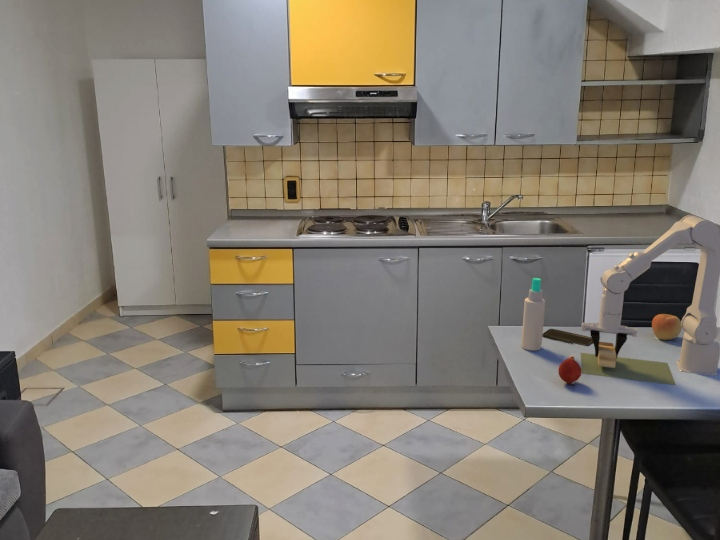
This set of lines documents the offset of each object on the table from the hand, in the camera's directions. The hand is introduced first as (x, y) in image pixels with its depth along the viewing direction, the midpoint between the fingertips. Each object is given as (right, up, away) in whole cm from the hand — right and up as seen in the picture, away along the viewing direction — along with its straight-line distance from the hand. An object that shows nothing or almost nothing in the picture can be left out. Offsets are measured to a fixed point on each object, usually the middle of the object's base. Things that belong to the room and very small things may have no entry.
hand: (605, 356), depth 185 cm
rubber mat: (+5, -3, -1) cm, 6 cm away
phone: (-4, +2, +22) cm, 23 cm away
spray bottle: (-18, +1, +14) cm, 23 cm away
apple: (+28, +3, +23) cm, 37 cm away
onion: (-14, -6, -11) cm, 19 cm away
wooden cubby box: (0, -1, 0) cm, 1 cm away
